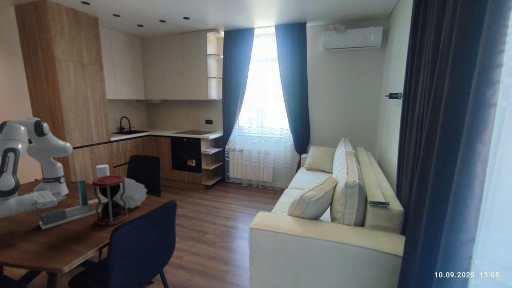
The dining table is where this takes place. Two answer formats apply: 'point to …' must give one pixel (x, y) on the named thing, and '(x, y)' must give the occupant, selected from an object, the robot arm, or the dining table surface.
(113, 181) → the hourglass
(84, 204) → the teal oblong box
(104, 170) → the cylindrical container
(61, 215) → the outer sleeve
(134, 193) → the spiral staircase
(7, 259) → the dining table surface
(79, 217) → the base board
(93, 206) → the salmon pink block
